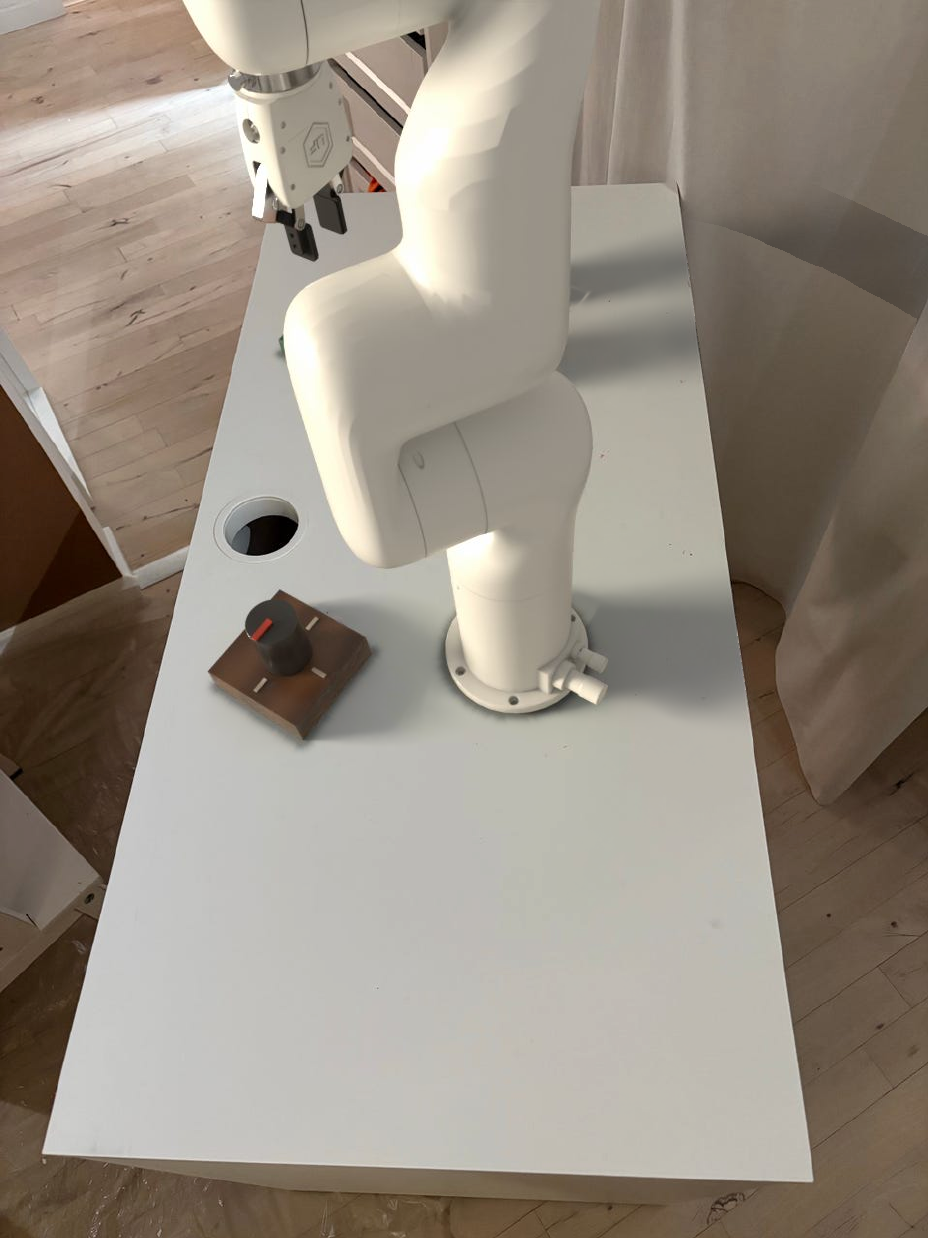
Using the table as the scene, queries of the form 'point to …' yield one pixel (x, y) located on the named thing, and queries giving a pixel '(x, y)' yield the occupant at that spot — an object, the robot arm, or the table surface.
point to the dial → (278, 637)
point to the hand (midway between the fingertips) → (319, 241)
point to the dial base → (304, 692)
